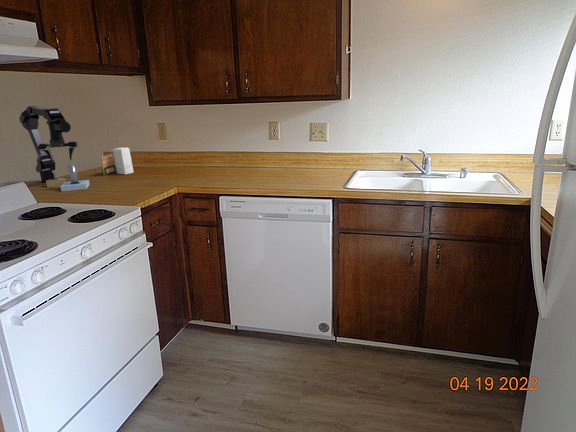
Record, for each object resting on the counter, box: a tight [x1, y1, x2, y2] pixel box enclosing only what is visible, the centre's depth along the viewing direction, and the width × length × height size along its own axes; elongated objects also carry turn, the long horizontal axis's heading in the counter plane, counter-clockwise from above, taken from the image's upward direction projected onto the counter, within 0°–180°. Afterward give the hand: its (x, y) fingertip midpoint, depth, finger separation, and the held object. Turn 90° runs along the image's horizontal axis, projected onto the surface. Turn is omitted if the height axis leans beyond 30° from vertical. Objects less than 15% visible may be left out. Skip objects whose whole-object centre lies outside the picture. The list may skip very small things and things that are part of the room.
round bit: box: [67, 163, 79, 184], centre depth 222 cm, size 4×4×12 cm
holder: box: [60, 179, 90, 192], centre depth 224 cm, size 12×12×2 cm
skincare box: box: [112, 147, 134, 175], centre depth 257 cm, size 8×7×16 cm
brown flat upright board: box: [100, 153, 117, 177], centre depth 257 cm, size 11×2×12 cm, turn 165°
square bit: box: [45, 177, 68, 188], centre depth 231 cm, size 9×4×4 cm, turn 90°
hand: (61, 161), depth 231 cm, fingers open, 9 cm apart
